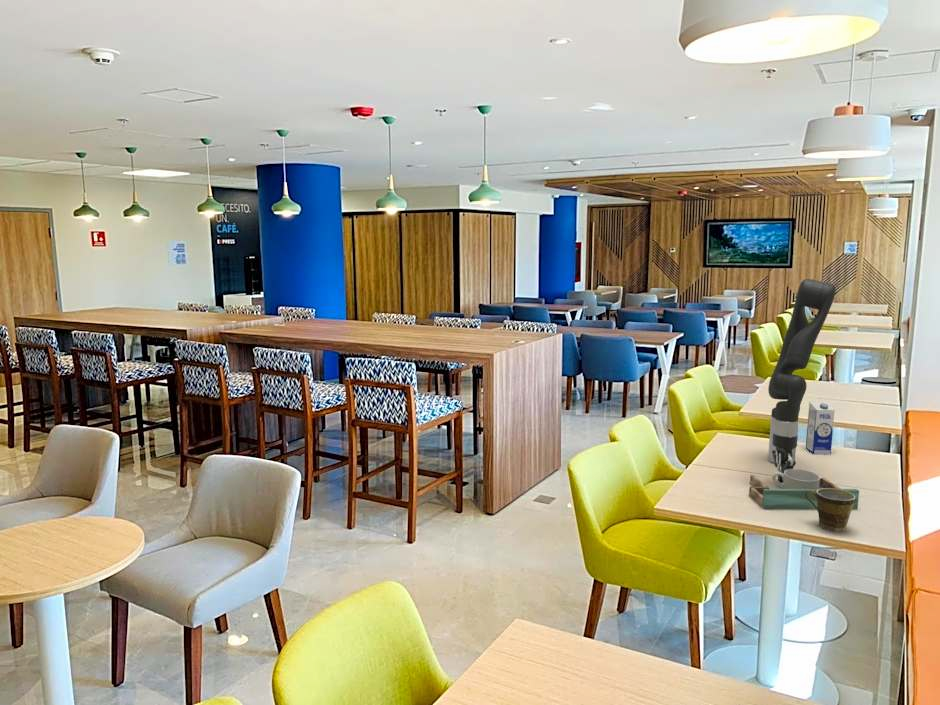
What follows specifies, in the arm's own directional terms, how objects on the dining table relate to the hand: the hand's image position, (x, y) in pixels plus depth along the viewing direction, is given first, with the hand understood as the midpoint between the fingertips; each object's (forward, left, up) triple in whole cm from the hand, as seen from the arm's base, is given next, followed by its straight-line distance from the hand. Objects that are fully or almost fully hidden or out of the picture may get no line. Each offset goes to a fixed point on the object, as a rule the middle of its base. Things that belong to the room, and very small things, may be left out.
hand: (781, 482), depth 231 cm
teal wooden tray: (+9, 0, -2) cm, 9 cm away
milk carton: (-39, +32, -2) cm, 51 cm away
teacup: (+9, 0, -2) cm, 9 cm away
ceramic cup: (+33, -2, -2) cm, 33 cm away
